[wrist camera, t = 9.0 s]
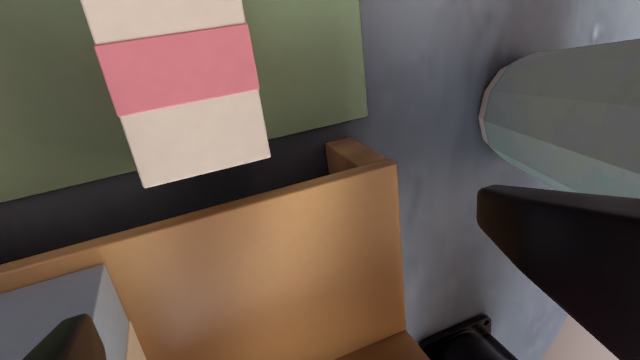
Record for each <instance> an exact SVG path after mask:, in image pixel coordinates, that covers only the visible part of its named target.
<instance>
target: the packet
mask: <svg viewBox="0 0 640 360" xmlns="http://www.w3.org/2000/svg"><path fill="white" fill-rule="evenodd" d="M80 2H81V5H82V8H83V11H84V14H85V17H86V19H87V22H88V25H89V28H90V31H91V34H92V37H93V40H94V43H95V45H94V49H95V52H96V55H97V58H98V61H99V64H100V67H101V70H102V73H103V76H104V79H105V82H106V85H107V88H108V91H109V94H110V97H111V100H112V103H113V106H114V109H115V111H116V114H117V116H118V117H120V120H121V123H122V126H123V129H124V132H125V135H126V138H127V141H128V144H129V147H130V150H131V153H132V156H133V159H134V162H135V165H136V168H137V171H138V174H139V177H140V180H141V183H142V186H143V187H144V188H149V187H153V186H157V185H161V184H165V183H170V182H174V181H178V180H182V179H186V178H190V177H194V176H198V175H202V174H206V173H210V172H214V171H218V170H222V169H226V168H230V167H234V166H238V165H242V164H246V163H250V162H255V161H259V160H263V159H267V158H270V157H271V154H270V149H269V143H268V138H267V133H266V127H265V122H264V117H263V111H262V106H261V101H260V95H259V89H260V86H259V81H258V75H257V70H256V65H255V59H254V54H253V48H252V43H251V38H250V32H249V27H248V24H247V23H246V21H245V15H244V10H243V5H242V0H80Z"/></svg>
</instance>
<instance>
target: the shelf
mask: <svg viewBox="0 0 640 360" xmlns="http://www.w3.org/2000/svg"><path fill="white" fill-rule="evenodd" d="M325 147H326V155H327V163H328V170H329V175H327V176H323V177H319V178H316V179H312V180H308V181H305V182H301V183H297V184H294V185H290V186H287V187H283V188H279V189H276V190H272V191H268V192H265V193H261V194H257V195H254V196H250V197H246V198H243V199H239V200H235V201H232V202H228V203H224V204H221V205H217V206H213V207H210V208H206V209H202V210H199V211H195V212H191V213H188V214H184V215H180V216H177V217H173V218H170V219H166V220H162V221H159V222H155V223H151V224H148V225H144V226H140V227H137V228H133V229H129V230H126V231H122V232H118V233H115V234H111V235H107V236H104V237H100V238H96V239H93V240H89V241H85V242H82V243H78V244H74V245H71V246H67V247H64V248H60V249H56V250H53V251H49V252H45V253H42V254H38V255H34V256H31V257H27V258H23V259H20V260H16V261H12V262H9V263H5V264H1V265H0V294H2V293H6V292H9V291H13V290H16V289H19V288H23V287H26V286H30V285H33V284H37V283H40V282H43V281H47V280H50V279H54V278H57V277H61V276H64V275H67V274H71V273H74V272H78V271H81V270H85V269H88V268H91V267H95V266H98V265H102V264H105V266H106V268H107V271H108V273H109V276H110V278H111V280H112V283H113V285H114V288H115V290H116V292H117V295H118V297H119V300H120V302H121V304H122V307H123V309H124V312H125V314H126V316H127V319H128V321H131V324H132V326H133V328H134V331H135V333H136V336H137V338H138V340H139V343H140V345H141V348H142V350H143V352H144V355H145V357H146V360H430V359H429V358H428V357H427V355H426V354H425V353H424V352H423V350H422V349H421V348H420V347H419V346H418V344H417V343H416V342H415V341H414V339H413V338H412V337H411V336H410V335H409V333H408V332H407V331H406V322H405V303H404V284H403V266H402V247H401V229H400V210H399V191H398V173H397V163H395V162H394V161H392V160H390V159H388V158H387V157H385V156H383V155H381V154H380V153H378V152H376V151H374V150H373V149H371V148H369V147H367V146H366V145H364V144H362V143H360V142H358V141H357V140H355V139H353V138H351V137H348V138H344V139H340V140H336V141H332V142H328V143H325Z"/></svg>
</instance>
